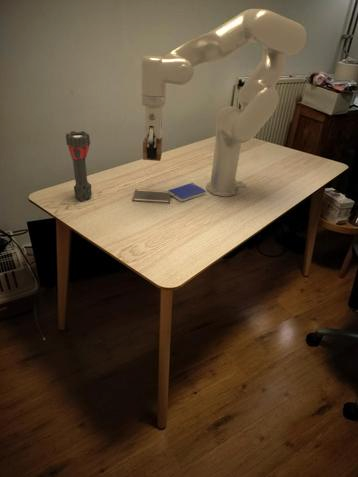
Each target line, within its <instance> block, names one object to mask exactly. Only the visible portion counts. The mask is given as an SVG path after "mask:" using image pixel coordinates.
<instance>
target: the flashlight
mask: <svg viewBox="0 0 358 477" xmlns="http://www.w3.org/2000/svg"><path fill="white" fill-rule="evenodd" d="M65 138H66V139H65V140H66V146H67V148H68V151H69V153H70V157H71V159H72V162H73V163H72V165H73V174H74V181H75V185H74V186H73V190H74V196H75V199H78V200H79V202H85V201H86V200H90V199H91V198H92V184H91V183H90V182H89V181H88V174H87V164H86V158H87V155H88V152H89V149H90V145H91V138H90V134H89V133H88V132H86V131H83V130H81V131H78V132H77V131H76V130H75V131H70V133H68V132H66V134H65Z"/></svg>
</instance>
